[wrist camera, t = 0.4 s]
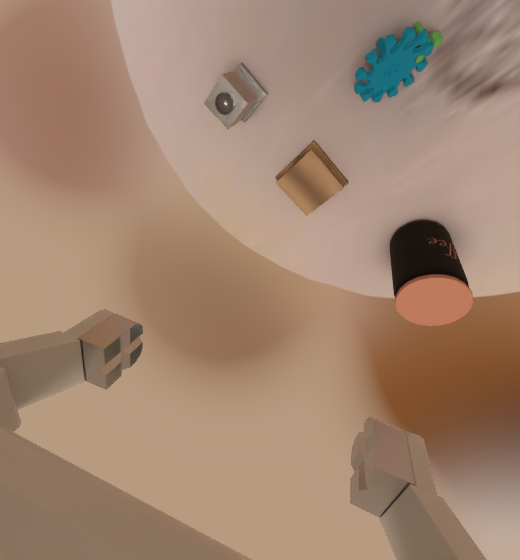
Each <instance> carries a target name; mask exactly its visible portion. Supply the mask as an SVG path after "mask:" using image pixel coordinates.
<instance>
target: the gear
mask: <svg viewBox="0 0 520 560" xmlns="http://www.w3.org/2000/svg"><path fill="white" fill-rule="evenodd" d="M414 28H415V30H414ZM414 28H412V27H407V28H406V29H405V30H404V32H403V35H402V37H401V39H400V41H399V42H398V43H397V44H396V42H397V39H396V37H395V34H392V35H389V36H387V37H385V39H384V38H380V39H379V40H378V41H377V47H378V49H379V52H380V54H381V57H380V58H379V59H377V58H378V54H377V51H376V49H373V50H371V51H370V52H369V53H368V54H367V55H366V59H367V62H368V63H369V64H371V65H373V67H372V69H371V70H370V71H368V72H366V71H365V68H364V67H360V68H359V69H358V70H357V72H356V74H355V76H356V79H357V80H363V79H368V81H367V82H365V83H363V82H361V81H359V82H356V83H355V87H354V90H355V93H356V94H359V93H360V95H361V98H362V100H363V101H364V102H365V101H367V100H368V99H369V98H370V97H371V96H372V100H373V101H374V102H379V101H380V100H381V99H382V96H383V95H384V93H385V92H386V91H387V94H388V96H389V97H392V96H395V95H397V93H398V91H397V87H398V85H399V83H400V81H401V80H402V79H403V83H404V85H405V87H406V86H408V85H410V84H411V83H413V82H414V78H413V76H412V74H409V72H410V70H411V69H412V68H413V67H416V69H417V71H418V72H421V71H422V70H423V69H424V68H425V67H426V66H427V64H428V63H427V61H426V59H425V58H424V56H428V55H429V54H430V53H431V51H432V49H433V46H434V47H437V46H439V45H440V44H441V43H442V41H443V39H442V37H441V34H440V32H439V31H438V30H437V31H435V32H433V33H432V35H430V33H429V32H427V31H426V29H423V28H422V26H421V24H420V22H417V23H416V24H415V25H414ZM415 31H416V32H415ZM416 33H417V36H416ZM415 36H416V37H415ZM432 43H433V44H432ZM395 44H396V45H395ZM393 47H394V48H393ZM369 88H370V89H369ZM366 89H369V90H366Z"/></svg>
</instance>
